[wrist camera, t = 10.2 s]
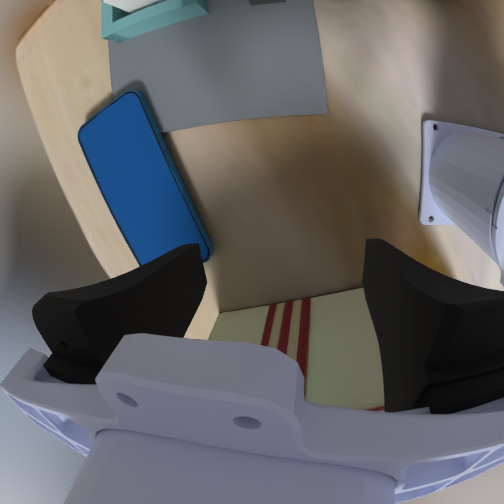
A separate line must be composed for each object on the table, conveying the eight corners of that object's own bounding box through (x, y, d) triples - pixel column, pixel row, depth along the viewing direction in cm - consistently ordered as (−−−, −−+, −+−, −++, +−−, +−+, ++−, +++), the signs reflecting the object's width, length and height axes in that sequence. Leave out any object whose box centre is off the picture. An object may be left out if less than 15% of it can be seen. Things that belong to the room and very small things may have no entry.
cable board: (292, -75, 9) (289, -98, 6) (327, 114, 17) (333, 113, 14) (111, -27, 12) (88, -38, 9) (122, 142, 20) (95, 150, 17)
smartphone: (135, 84, 16) (216, 259, 22) (142, 84, 17) (219, 253, 23) (74, 132, 19) (146, 279, 24) (81, 130, 19) (151, 273, 25)
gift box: (182, 318, 28) (106, 467, 12) (368, 268, 22) (418, 481, 7) (250, 407, 34) (223, 521, 19) (389, 382, 28) (403, 514, 13)
